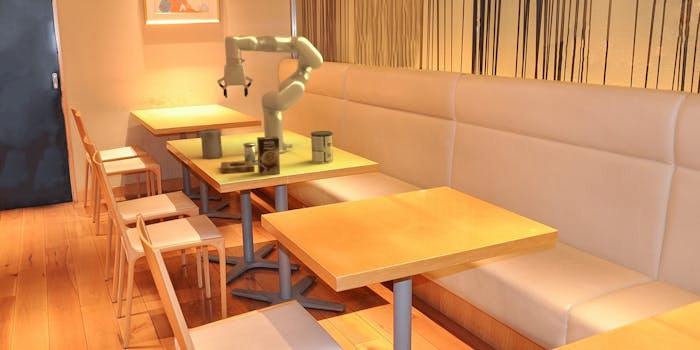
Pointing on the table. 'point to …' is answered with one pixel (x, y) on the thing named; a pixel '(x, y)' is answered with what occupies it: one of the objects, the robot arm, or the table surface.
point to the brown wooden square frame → (237, 167)
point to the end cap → (249, 152)
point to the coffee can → (322, 147)
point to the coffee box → (268, 155)
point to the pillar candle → (211, 143)
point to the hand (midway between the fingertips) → (236, 97)
